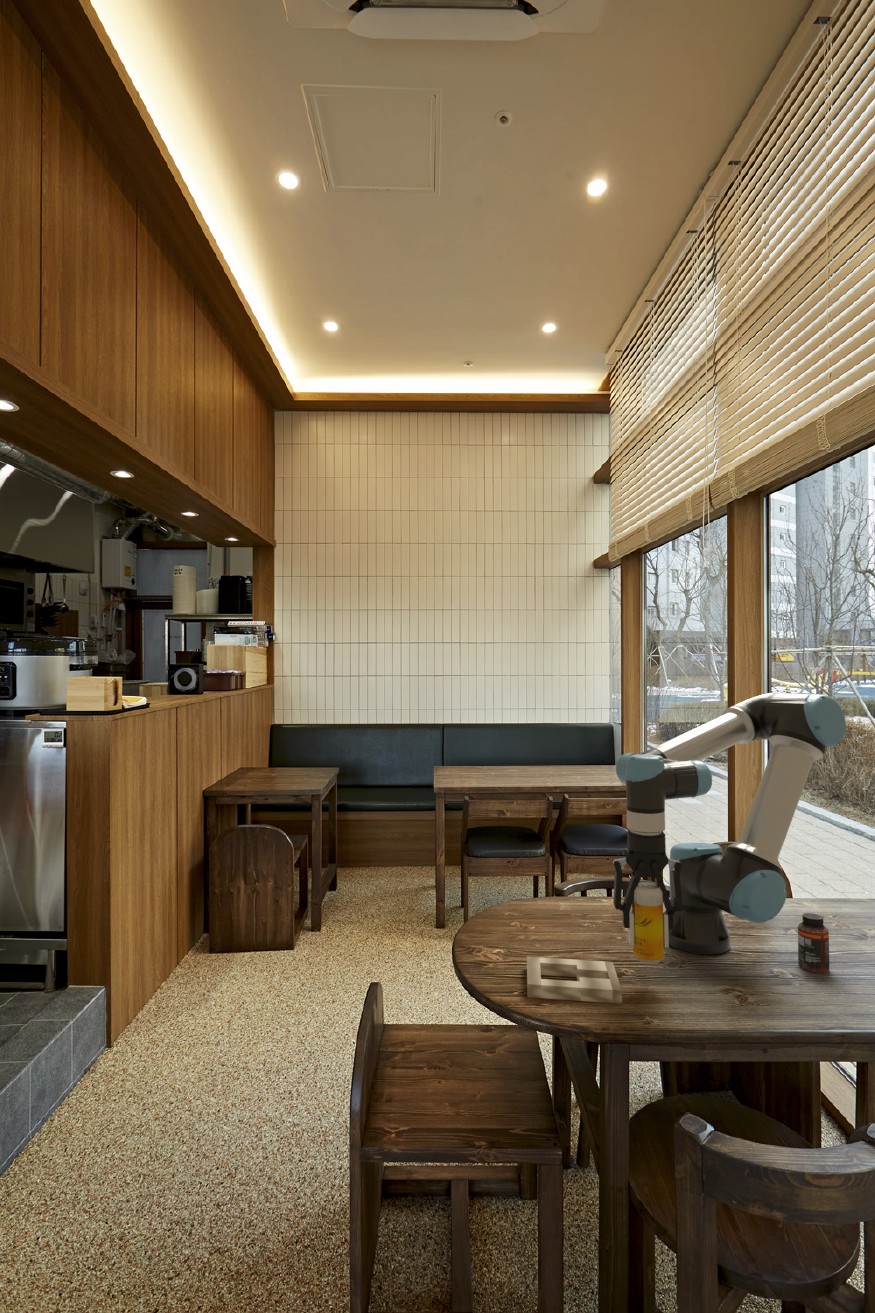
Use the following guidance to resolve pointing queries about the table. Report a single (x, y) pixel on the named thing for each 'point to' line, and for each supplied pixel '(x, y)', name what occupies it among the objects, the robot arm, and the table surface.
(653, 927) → the beer can
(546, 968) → the keyhole plate
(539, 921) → the table surface
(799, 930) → the supplement bottle
